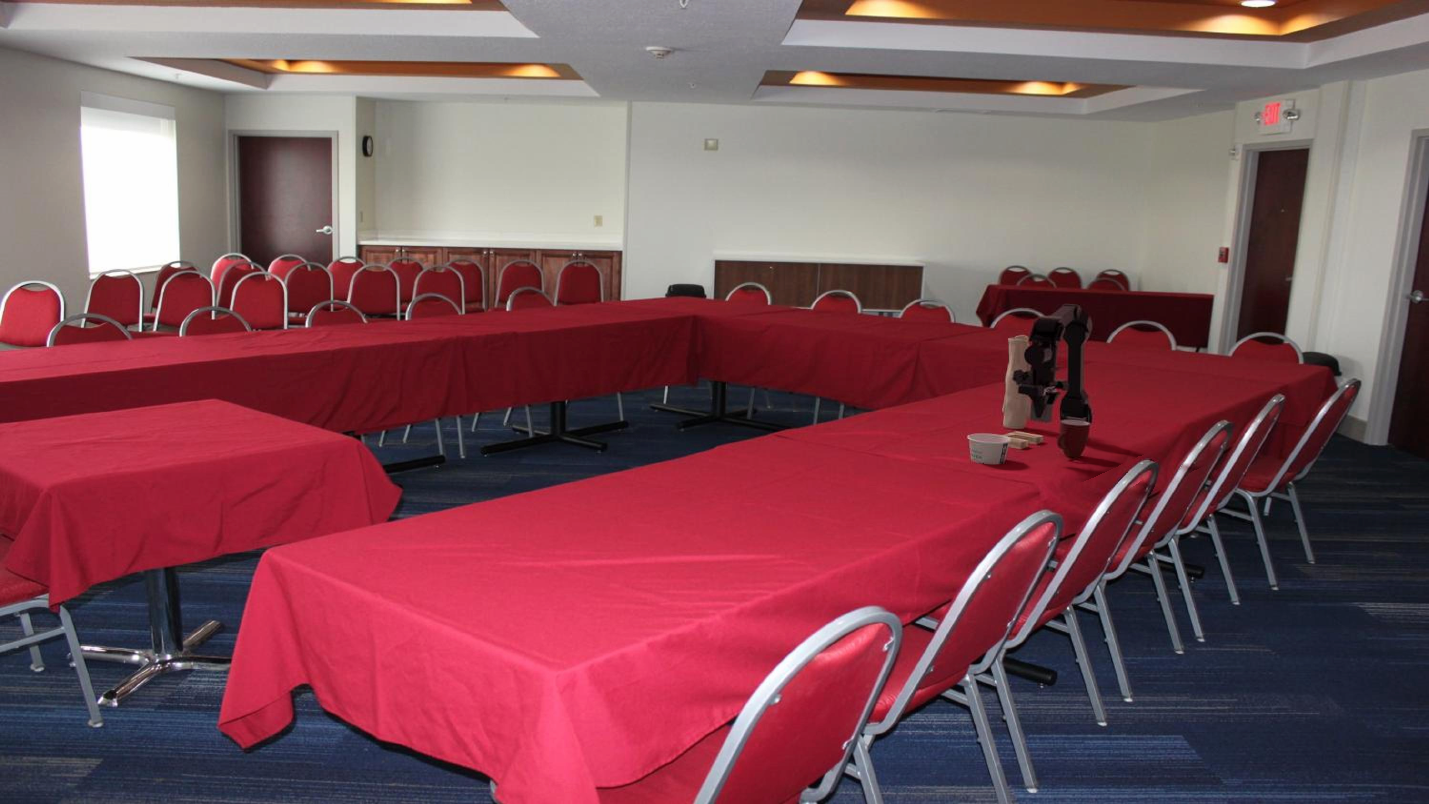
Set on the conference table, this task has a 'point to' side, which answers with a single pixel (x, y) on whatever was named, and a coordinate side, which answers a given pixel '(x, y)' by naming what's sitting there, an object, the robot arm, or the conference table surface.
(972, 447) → the food container
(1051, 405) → the grey block
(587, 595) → the conference table surface
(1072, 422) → the mug
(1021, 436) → the notch board
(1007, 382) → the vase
